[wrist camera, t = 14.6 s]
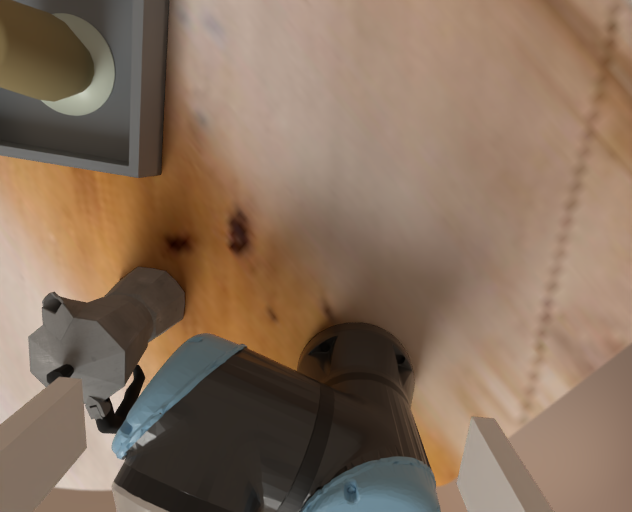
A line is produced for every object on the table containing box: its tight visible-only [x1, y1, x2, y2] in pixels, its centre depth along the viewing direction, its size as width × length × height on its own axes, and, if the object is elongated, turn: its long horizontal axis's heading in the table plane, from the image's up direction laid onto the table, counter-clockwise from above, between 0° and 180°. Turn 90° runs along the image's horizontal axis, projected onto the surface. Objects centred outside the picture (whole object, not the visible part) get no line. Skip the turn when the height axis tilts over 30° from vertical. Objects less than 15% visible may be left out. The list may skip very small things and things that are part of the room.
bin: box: [0, 0, 169, 178], centre depth 39 cm, size 20×20×6 cm
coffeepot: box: [28, 267, 185, 434], centre depth 40 cm, size 15×9×18 cm, turn 14°
